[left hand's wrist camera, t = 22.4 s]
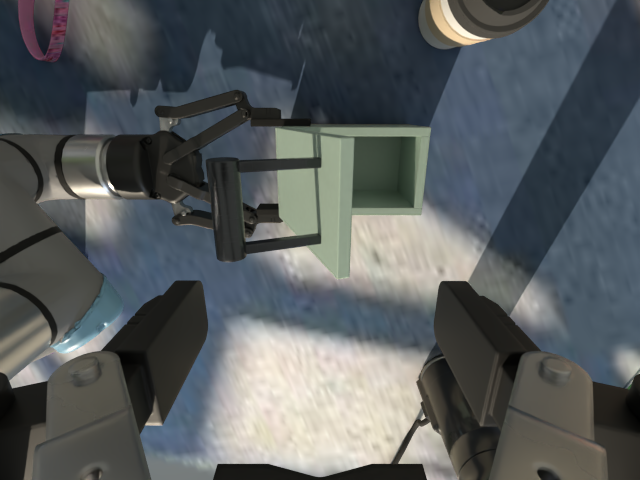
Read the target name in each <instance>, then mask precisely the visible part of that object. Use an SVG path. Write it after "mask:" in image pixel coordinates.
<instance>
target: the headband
mask: <svg viewBox="0 0 640 480" xmlns="http://www.w3.org/2000/svg"><path fill="white" fill-rule="evenodd" d="M34 2H35V0H19V1H18V12H19V23H20V29H21V33H22V37H23V40H24V42H25V45H26V47H27V49H28V50H29V52H30V53H31V55H32V56H33V57H34V58H36V59H38V60H42V61H48V62H56V61H57V60H58V58H59V57H60V54H61V52H62V48H63V44H64V38H65V32H66V25H67V16H68V6H69V0H55V10H54V19H53V27H52V34H51V40H50V44H49V48H48V51H47V53H46V55H45V56H44V55H43V53H42V51H41V49H40V47H39V45H38V42H37V39H36V35H35V29H34V20H33V11H34Z"/></svg>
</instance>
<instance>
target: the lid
mask: <svg viewBox="0 0 640 480" xmlns="http://www.w3.org/2000/svg"><path fill="white" fill-rule="evenodd" d="M275 130H276V154H277V159H260V160H239V159H238V158H230V157H221V158H210V159H207V160H206V168H207V177H208V185H209V194H210V203H211V212H212V220H213V229H214V238H215V246H216V255H217V259H218V260H219V261H222V262H235V261H239V260H242V259H244V258H245V257H246V255H247V254H251V253H258V252H265V251H273V250H280V249H287V248H295V247H302V246H307V247H308V248H309V249H310V251H311V252H312V253H313V254H314V255H315V256H316V257H317V258H318V259H319V260H320V261H321V262H322V263H323V265H324V266H325V267H326V268H327V269H328V270H329V271H330V272H331V273H332V274H333V275H334V276H335V277H336V279H343V278H348V277H349V274H350V247H351V220H352V192H353V165H354V137H350V136H343V135H336V134H329V133H322V132H315V131H308V130H301V129H294V128H287V127H276V128H275ZM276 170H277V178H278V202H279V217H280V218H281V219H282V220H283V221H284V222H285V224H286V225H287V226H288V227H289V228H290V229H291V230H292V231H293V232H294V233H295V234H296V235H297V236H290V237H282V238H274V239H266V240H258V241H250V242H246V240H245V227H244V215H243V202H242V190H241V178H240V172H258V171H276Z"/></svg>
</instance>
